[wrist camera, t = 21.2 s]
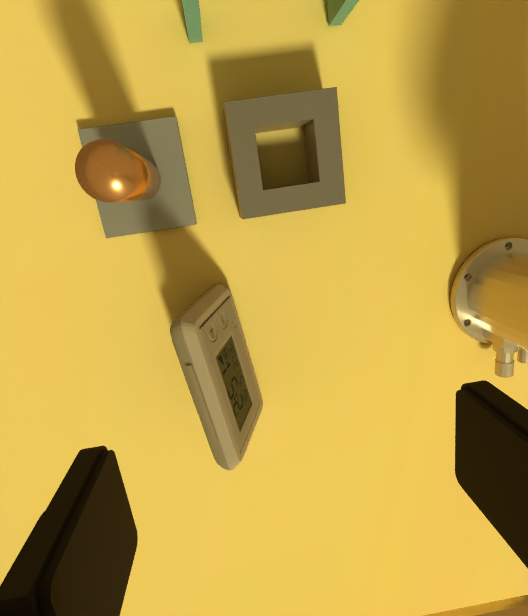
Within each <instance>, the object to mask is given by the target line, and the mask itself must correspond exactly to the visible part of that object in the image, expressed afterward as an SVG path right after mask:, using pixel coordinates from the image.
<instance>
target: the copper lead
mask: <svg viewBox="0 0 528 616" xmlns="http://www.w3.org/2000/svg"><path fill="white" fill-rule="evenodd" d="M75 173H76V177H77V180H78V182H79V184H80V186H81V187H82V188H83V190H84V191H85V192H86V193H87V194H88V195H90V196H91V197H93V198H94V199H96V200H99V201H102V202H126V201H141V200H148V199H150V198H152V197H153V196H154V195H156V193H157V192H158V190H159V188H160V185H161V176H160V173H159V170H158V168H157V167H156V166H155V164H154V163H152V162H151V161H150V160H148V159H146V158H145V157H143V156H141V155H139V154H137V153H135V152H133V151H132V150H130V149H128V148H126V147H124V146H122V145H121V144H119V143H117V142H114V141H111V140H107V139H99V140H94V141H92V142H90V143H88V144H86V145H85V146H84V147H83V148H82V149H81V150H80V152H79V153H78V155H77V158H76V162H75Z"/></svg>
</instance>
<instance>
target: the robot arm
mask: <svg viewBox="0 0 528 616" xmlns="http://www.w3.org/2000/svg"><path fill="white" fill-rule="evenodd" d="M450 302H451V311H452V314H453V317H454V319H455V321H456V323H457V325H458V326H459V327H460V329H461V330H462V331H463V332H464V333H466V334H467V335H469V336H470V337H472V338H474V339H476V340H478V341H480V342H484V343H487V344H493V350H494V351H496V359H495V374H496V375H497V376H500V377H512V376H513V374H514V360H513V356H514V353H515V352H517V350H518V346H519V350H518V359H517V360H518V361H519V362H521V363H528V240H526V239H521V238H511V237H510V238H502V239H498V240H495V241H492V242H489V243H487V244H486V245H484V246H482V247H480V248H479V249H478V250H476V251H475V252H474V253H472V254H471V256H470V257H469V258H468V259H467V260H466V261H465V262H464V263H463V265H462V266H461V268H460V269H459V271H458V273H457V275H456V277H455V280H454V283H453V286H452V290H451V299H450ZM455 474H456V478H457V480H458V482H459V484H460V486H461V487H462V488H463V490H464V491H465V492H466V493H467V494H468V496H469V497H470V498H471V499H472V501H473V502H474V503H475V504H476V505H477V507H478V508H479V509H480V510H481V512H482V513H483V514H484V515H485V516H486V518H487V519H488V520H489V521H490V523H491V524H492V525H493V526H494V528H495V529H496V530H497V531H498V532H499V534H500V535H501V536H502V537H503V539H504V540H505V541H506V542H507V543H508V545H509V546H510V547H511V548H512V550H513V551H514V552H515V553H516V554H517V556H518V557H519V558H520V559H521V561H522V562H523V563H524V564H525V566H526V567H527V568H528V410H527V409H526V408H525V407H523V406H522V405H520V404H519V403H518V402H516V401H515V400H513V399H512V398H510V397H509V396H508V395H506V394H505V393H503V392H502V391H500V390H499V389H498V388H496V387H495V386H493V385H492V384H491V383H489V382H487V381H477V382H472V383H466V384H463V385H462V387H461V390H458V391H457V393H456V434H455ZM136 548H137V530H136V526H135V522H134V519H133V515H132V512H131V508H130V505H129V501H128V498H127V494H126V491H125V487H124V484H123V480H122V477H121V473H120V470H119V466H118V463H117V459H116V456H115V453H114V451H113V450H109V451H108V450H107V448H106V447H105V446H99V447H93V448H87V449H82V450H80V451H79V453H78V455H77V456H76V458H75V460H74V462H73V463H72V465H71V467H70V469H69V470H68V472H67V474H66V476H65V477H64V479H63V481H62V483H61V484H60V486H59V488H58V490H57V491H56V493H55V495H54V497H53V498H52V500H51V502H50V504H49V506H48V507H47V509H46V511H45V512H44V513H43V514H42V515H41V516H40V518H39V520H38V521H37V523H36V525H35V527H34V528H33V530H32V532H31V534H30V535H29V537H28V539H27V541H26V542H25V544H24V546H23V548H22V549H21V551H20V553H19V554H18V556H17V558H16V560H15V561H14V563H13V565H12V567H11V568H10V570H9V572H8V574H7V575H6V577H5V579H4V581H3V582H2V584H1V586H0V616H120V612H121V608H122V604H123V600H124V596H125V592H126V588H127V584H128V580H129V576H130V572H131V568H132V564H133V560H134V556H135V552H136ZM424 616H528V595H525V596H520V597H515V598H510V599H505V600H500V601H495V602H490V603H485V604H480V605H475V606H469V607H464V608H459V609H454V610H449V611H444V612H439V613H434V614H429V615H424Z"/></svg>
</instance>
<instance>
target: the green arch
mask: <svg viewBox="0 0 528 616" xmlns="http://www.w3.org/2000/svg"><path fill="white" fill-rule="evenodd" d="M358 1H359V0H327V11H328V23H329V26H335V25H341V24H342V23H343V22H344V20H345V19H346V18H347V16H348V15H349V13H350V12H351V11H352V9H353V8H354V7H355V5H356V4H357V2H358ZM182 5H183V10H184V16H185V21H186V27H187V33H188V38H189V43H195V42H203V41H202V30H201V19H200V8H199V0H182Z"/></svg>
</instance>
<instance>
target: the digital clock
mask: <svg viewBox="0 0 528 616" xmlns="http://www.w3.org/2000/svg"><path fill="white" fill-rule="evenodd" d="M170 333H171V337H172V342H173V345H174V348H175V350H176V353H177V356H178V359H179V362H180V365H181V367H182V370H183V373H184V376H185V379H186V381H187V384H188V387H189V390H190V393H191V396H192V398H193V401H194V404H195V407H196V410H197V413H198V415H199V417H200V420H201V423H202V426H203V429H204V431H205V434H206V437H207V440H208V443H209V445H210V448H211V451H212V453H213V456H214V459H215V461H216V462H217V463H218V464H219V465H220V466H221V467H222V468H224V469H226V470H233V469H234V468H235V467H236V466H237V465H238V464H239V463H240V462H241V460H242V458H243V456H244V454H245V451H246V449H247V446H248V444H249V441H250V439H251V436H252V433H253V431H254V428H255V426H256V423H257V421H258V418H259V415H260V413H261V410H262V406H263V401H262V397H261V393H260V389H259V386H258V382H257V379H256V375H255V372H254V369H253V365H252V362H251V358H250V355H249V351H248V348H247V345H246V341H245V338H244V334H243V331H242V328H241V324H240V321H239V317H238V314H237V310H236V307H235V304H234V301H233V297H232V294H231V292H230V290H229V289H228V288H226V287H225V286H223V285H221V284H217V285H214V286H213V287H211V288H210V289H209V290H207V291H206V292H205V293H204V294H203V295H202V296H201V297H199V298H198V299H197V300H196V301H195V302H194V303H193V304H191V305H190V306H189V307H188V308H187V309H186V310H185V311H183V312H182V313H181V314H180V315H179V316H178V317H177V318H176V319H175V320H174V321H173V323H172V325H171V327H170Z"/></svg>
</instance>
